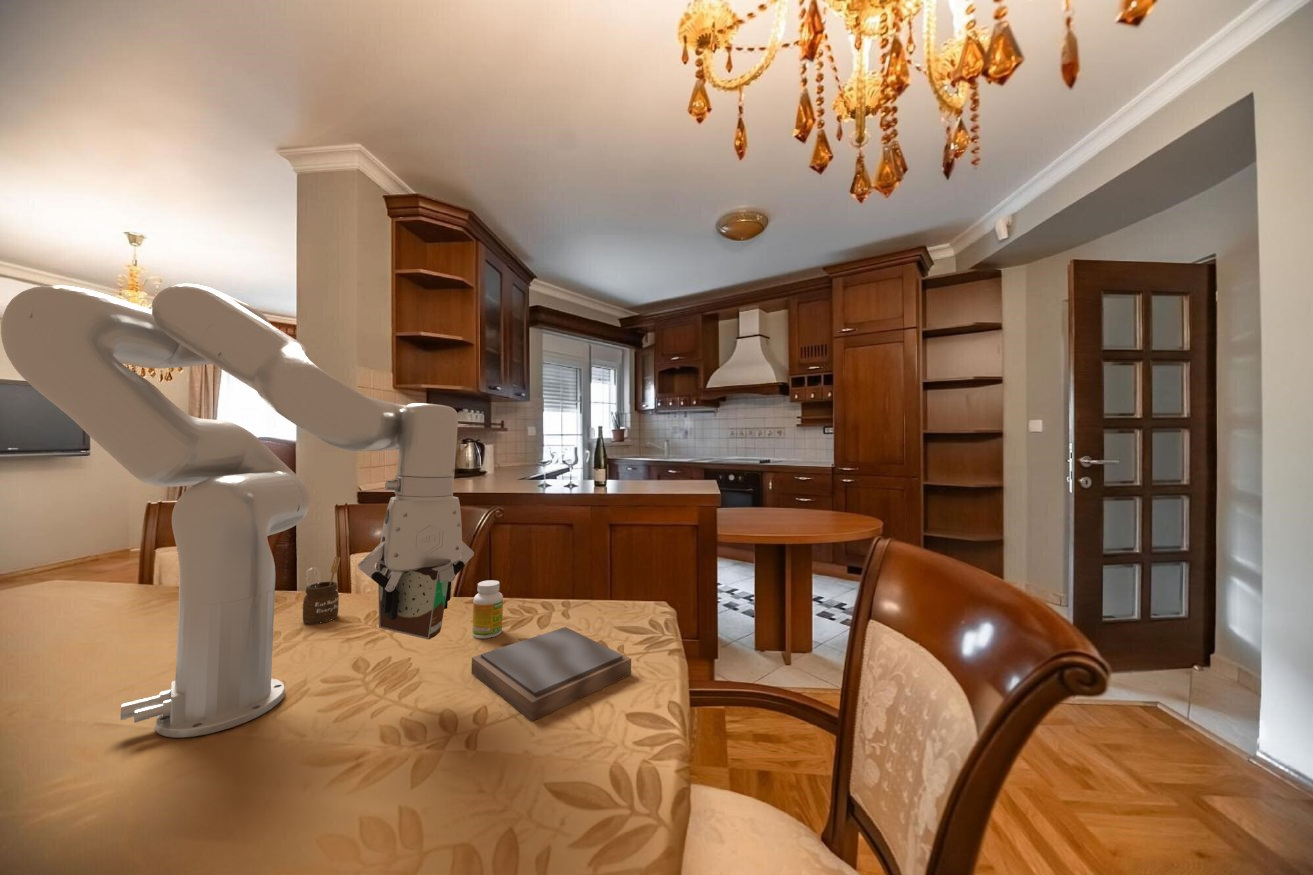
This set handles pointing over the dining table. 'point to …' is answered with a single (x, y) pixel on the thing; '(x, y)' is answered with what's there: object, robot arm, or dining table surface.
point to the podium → (549, 670)
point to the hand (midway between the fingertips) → (416, 610)
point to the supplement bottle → (487, 610)
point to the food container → (418, 601)
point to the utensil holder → (321, 599)
